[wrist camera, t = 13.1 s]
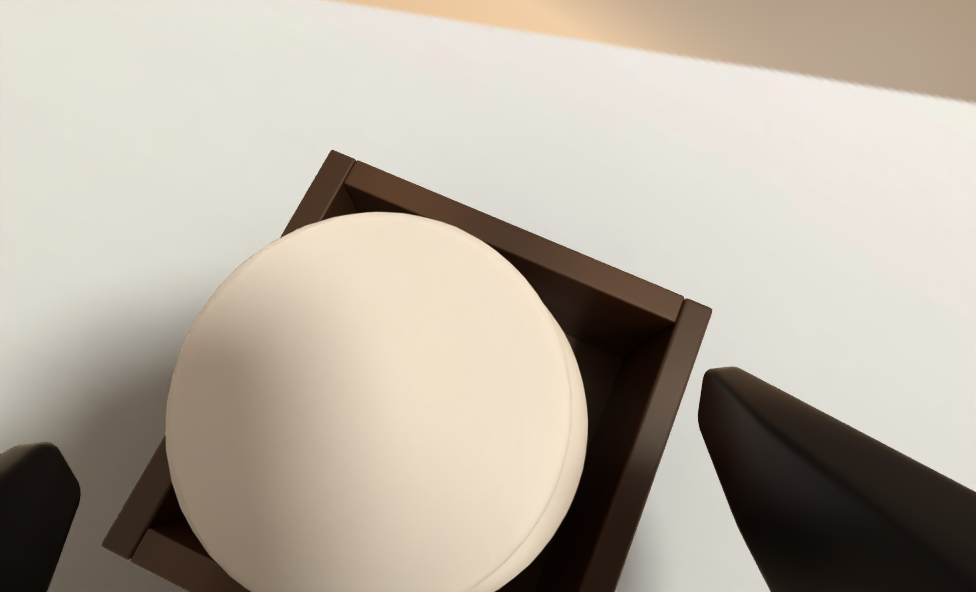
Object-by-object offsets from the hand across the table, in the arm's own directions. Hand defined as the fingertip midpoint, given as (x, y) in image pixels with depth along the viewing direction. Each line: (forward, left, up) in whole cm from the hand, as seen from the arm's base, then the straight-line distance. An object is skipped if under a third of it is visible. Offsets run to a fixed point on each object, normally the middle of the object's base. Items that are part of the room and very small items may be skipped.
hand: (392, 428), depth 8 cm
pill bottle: (0, 0, -10) cm, 10 cm away
